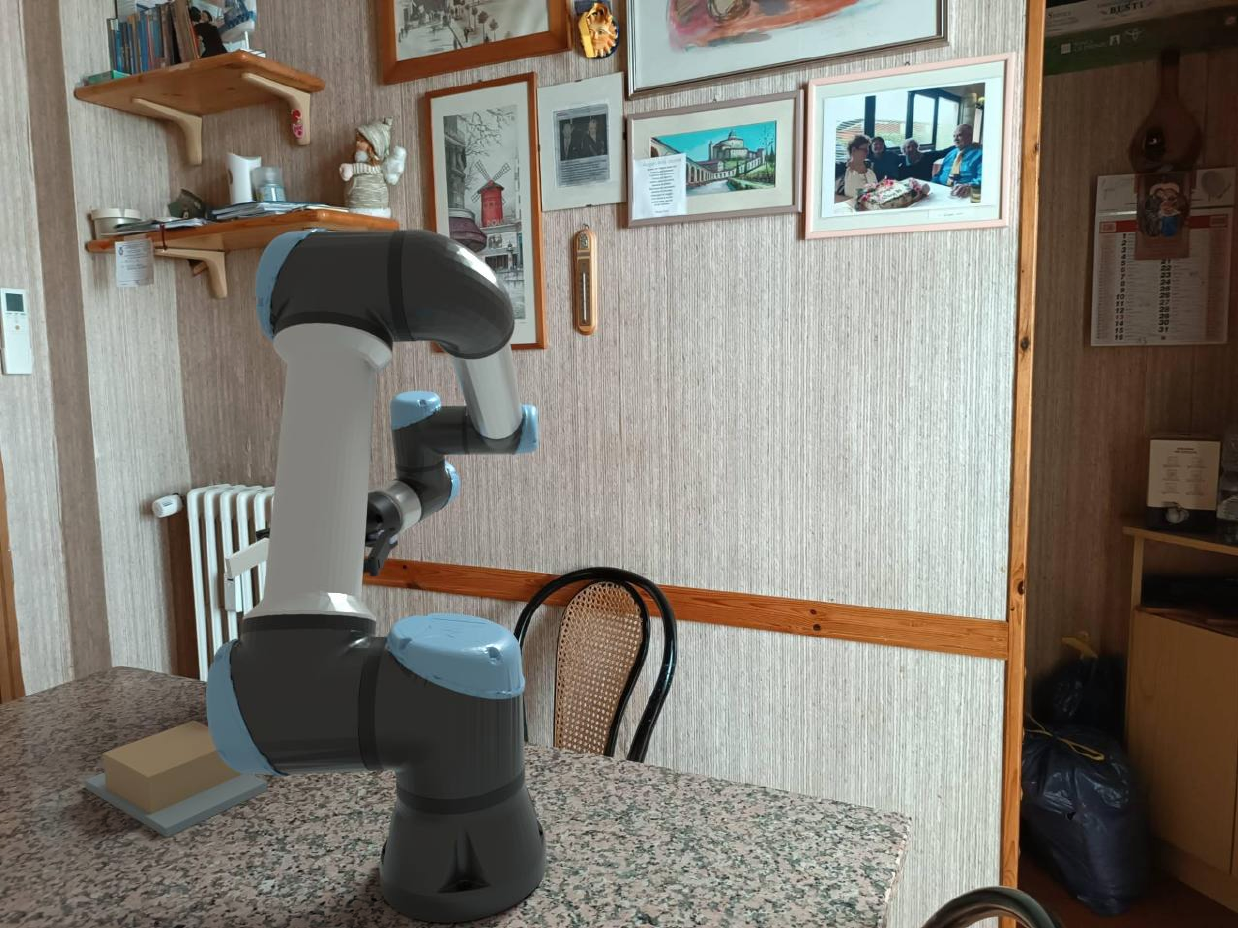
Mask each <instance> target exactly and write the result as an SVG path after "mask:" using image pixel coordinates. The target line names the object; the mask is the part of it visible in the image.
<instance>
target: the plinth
mask: <svg viewBox="0 0 1238 928" xmlns="http://www.w3.org/2000/svg"><path fill="white" fill-rule="evenodd" d="M102 756H103V768H104V772H102V773H100V774H96V775H94V776H91V777H89V778H86V779H84V788H85V790H88V791H89V792H91V793H93V794H94V795H95V796H97V797H99V798H101V799H102V800H104V801H105V802H107V803H109V804H111V805H112V806H113V807H115V808H117V809H118V810H120V811H122V812H123V813H125V814H127V815H129V816H130V817H132V818H134V819H135V820H137V821H139V822H140V823H142V824H143V825H146V826H147V827H149V828H150V829H152V830H153V831H156V833H158V834H160V835H162V836H163V837H165V838H170V837H171V836H174V835H176V834H177V833H178V834H179V833H180V832H182V831H184V830H186V829H188V828H190V827H191V828H192V827H193V826H196V825H198V824H200V823H201V822H204V821H206V820H208V819H210V818H212V817H214V816H216V815H218V814H221V813H223V812H225V811H228V810H229V809H231V808H233V807H235V806H238V805H240V804H242V803H244V802H246V801H248V800H251V799H252V798H255V797H257V796H260V795H261V794H263V793H265V792H268V791H269V785H268V781H267V780H265V779H262V778H261V777H259V776H256V775H255V774H243V773H239V772H236V771H234V770H233V769H231V768H230V767H229V766H228V765H226V764H225V763H224V761H223V760H222V759H221V757H220V756H219V754H218V752H217V749H216V747H215V745H214V744H213V741H212V738H211V735H210V731H209V726H208V725H205V724H203V723H202V722H199V721H197V720H195V719H193V720H191V721H188V722H186V723H183V724H179V725H177V726H174V727H172V728H169V729H166V730H163V731H161V732H158V733H154V734H151V735H149V736H147V737H144V738H141V739H138V740H135V741H133V742H129V743H127V744H125V745H122V746H119V747H117V748H116V747H115V748H114V749H111V750H107V751H106V752H103V753H102Z"/></svg>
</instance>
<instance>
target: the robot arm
mask: <svg viewBox="0 0 1238 928" xmlns="http://www.w3.org/2000/svg"><path fill="white" fill-rule="evenodd" d="M254 296H255V297H256V298H257V304H256V306H255V310H256V316H257V320H258V323H259V326H260V328H261V330H262V332H263V334H264V335H265V336H266V337H267V339H269V340H270V341H272V342H273V343H272V345H273V350H274V352H275V353H276V354H277V356H279V357H280V358H281V359H282V360H283V361H284V362H285V363H286V366H287V367H286V374H285V383H284V386H285V387H284V394H283V403H282V404H283V405H282V414H281V423H280V434H279V441H278V442H279V443H278V451H277V462H276V469H275V470H276V472H275V481H274V490H273V501H272V511H271V519H270V526H269V527H267V528H262V529H258V530H256V531H255V532H254V534H255V540H256V541H255V542H253V543H252V544H250V545H248V546H246V547H244V548H242V549H241V550H240V549H239V550H238V551H236V552H234V553H232V554H230V555H228V556H226V557H224V562H225V566H226V571H227V572H226V573H227V578H230V579H234V578H236V577H239V576H240V575H242V574H243V573H245V572H247V571H249V570H251V569H253V568H254V567H256V566H259V565H261V564H263V563H265V562H266V565H265V566H266V567H265V578H264V586H263V595H262V596H263V597H262V598H261V600H260V602H259V603H258V604H256V606H254V607H253V608H251V610H249V611H248V612H247V613H246V614H245V615H243V616H242V622H241V632H240V638H234V639H231V640H230V641H227V642H224V643H223V644H222V645H221V646H220V647H218V649H217V650H216V652H215V654H214V655H213V662H212V663H211V664H210V665H209V669H208V674H207V679H206V690H205V702H206V703H205V706H206V707H205V708H206V709H205V710H206V720H207V726H208V727H209V731H210V735H211V738H212V741H213V744H214V745H215V747H216V749H217V752H218V754H219V756H220V757H221V759H222V760H223V761H224V763H225V764H226V765H228V766H229V767H230V768H231V769H233V770H234V771H236V772H239V773H243V774H252V775H271V776H274V777H277V778H283V777H289V776H292V775H303V774H304V775H308V774H309V775H310V774H332V773H333V774H335V773H336V774H337V773H338V774H339V773H355V772H357V773H358V772H359V773H360V772H362V773H363V772H377V771H378V772H382V771H384V772H385V771H393V772H394V775H395V789H396V790H395V791H396V795H395V796H396V798H395V802H394V807H393V809H392V814H391V818H390V821H389V826H388V827H389V828H388V832H387V833H388V834H387V835H388V836H387V838H386V840H385V841H384V843H383V845H382V848H381V852H380V855H379V860H378V861H379V866H378V867H379V868H378V869H379V884H380V885H379V886H380V890H381V893H382V896H383V898H384V899H385V901H386V902H387V904H388V905H389V906H391V907H392V908H393V909H394V910H395V911H397V912H399V913H400V914H402V915H404V916H406V917H409V918H413V919H415V920H419V921H422V922H423V921H425V922H429V923H440V924H444V923H445V924H446V923H448V924H449V923H461V922H463V923H464V922H469V921H474V920H479V919H484V918H486V917H490V916H493V915H496V914H498V913H501V912H502V911H505V910H507V909H509V908H512V907H513V906H515V905H516V904H518V903H520V902H521V901H523V899H525V898H526V897H528V896H529V895H530V894H531V893H532V892H533V891H534V890H535V889H536V888H537V887H538V885H539V884H540V883H541V881H542V879H543V878H544V876H545V872H546V868H547V864H548V863H547V862H548V861H547V840H546V835H545V831H544V829H543V827H542V824H541V823H540V821H539V820H538V817H537V812H536V809H535V806H534V802H533V800H532V799H533V798H532V797H531V794H530V791H529V789H528V785H527V783H526V782H527V781H526V755H525V754H526V751H525V750H526V749H525V728H524V724H525V723H524V704H523V703H524V702H523V701H524V700H523V699H524V698H523V692H524V691H525V688H526V687H525V686H526V679H525V676H524V675H523V666H522V654H521V653H522V652H521V646H520V643H519V641H518V639H517V638H516V636H515V635H514V634H513V633H512V631H510V630H509V629H508V628H507V627H506V626H503V625H502V624H498V623H497V622H495V621H493V620H491V619H487V618H483V617H480V616H474V615H468V614H463V613H449V612H443V613H442V612H434V613H427V614H426V615H418V614H416V615H415V614H414V615H412V616H411V615H410V616H407V617H404V618H402V619H400V620H397V621H396V622H395V623H393V625H392V626H391V627H390V629H389V632H388V634H387V635H386V636H376V635H377V634H376V633H377V631H376V630H377V617H376V616H375V615H374V614H373V613H372V612H371V611H370V610H369V609H368V607H367V606H366V605H365V604H364V603H363V601H362V591H363V576H364V575H365V574H369V576H370V577H377V576H379V575H380V574H381V572H382V568H384V566H385V563H386V560H387V559H388V557H389V555H390V553H391V551H392V550H393V549H394V548H396V547H397V546H398V545H399V541H398V540H399V539H398V535H400V534H402V533H403V532H405V531H406V530H407V529H410V528H411V527H412V526H414V525H416V524H418V523H420V522H422V521H423V520H425V519H427V518H428V517H430V516H431V515H434V514H435V513H438V512H439V511H442V510H443V509H445V508H446V506H447V505H449V504H450V503H451V502H453V501H454V499H456V498H457V497H458V495H459V492H460V489H461V481H460V476H459V475H458V474H457V472H456V469H455V467H454V466H453V465H452V464H450V463H449V462H448V461H447V460H446V458H445V456H463V455H464V456H467V455H469V456H471V455H472V456H473V455H476V456H477V455H479V456H480V455H511V456H516V455H519V454H531V453H533V452H535V451H536V450H537V449H538V446H539V422H538V419H539V418H538V410H537V408H536V406H534V405H532V404H523V403H521V397H520V396H521V395H520V393H519V392H520V391H519V386H518V380H517V374H516V370H515V369H516V368H515V362H514V357H513V352H512V346H511V340H512V337H513V334H514V332H515V326H516V322H515V320H516V319H515V313H514V307H513V304H512V300H511V297H510V294H509V293H508V290H507V288H506V287H505V285H504V283H503V282H502V281H501V279H500V278H499V276H498V275H497V274H496V273H495V272H494V270H493V268H491V266H489V265H488V263H486V262H485V260H483V258H481V257H480V256H479V255H478V254H476V253H475V252H474V251H473V250H471V249H470V248H468V247H467V246H465V245H464V244H462V243H460V242H459V241H457V240H456V239H453V238H451V237H449V236H446V235H444V234H440V233H438V232H435V231H432V230H425V229H407V230H404V229H401V230H400V229H399V230H398V229H395V230H393V229H391V230H339V231H338V230H335V231H334V230H333V231H330V230H327V229H325V228H310V229H308V230H298V231H297V230H296V231H288V232H284V233H283V234H282V233H281V234H280V235H279V234H278V235H277V236H276V237H274V238H273V239H272V240H271V241H270V242H269V243H268V244H267V246H266V247H265V249H264V251H263V253H262V255H261V257H260V261H259V263H258V266H257V270H256V277H255V286H254ZM401 342H402V343H403V342H434V343H436V344H437V345H438V346H439V348H441V350H442V351H443V352H445V353H446V354H448V355H449V358H450V360H451V363H452V367H453V370H454V372H455V375H456V378H457V381H458V384H459V387H460V390H461V394H462V395H463V399H464V401H465V404H466V405H442V402H441V399H440V396H439V395H438V394H437V393H435V392H433V391H425V390H413V391H405V392H401V393H399V394H396V395H395V396H393V398H392V399H391V400H390V403H389V409H390V411H389V413H390V424H389V429H390V430H391V431H390V432H391V440H392V448H393V455H394V465H395V466H394V467H395V478H394V479H391V480H390V481H388V482H387V483H384V484H383V485H380V486H379V487H376V488H374V489H373V490H371V491H370V490H369V481H370V468H371V467H370V466H371V457H372V456H371V453H372V440H373V439H372V437H373V424H374V408H375V407H374V405H375V395H376V393H375V392H376V380H377V378H376V377H377V374H379V373H381V371H383V370H384V369H386V368H387V367H389V365H390V364H391V362H392V360H393V350H394V349H393V347H394V343H401ZM366 548H370V549H371V551H370V552H369V554H368V556H367V557H366V556H365V555H366ZM365 557H366V558H365Z"/></svg>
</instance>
